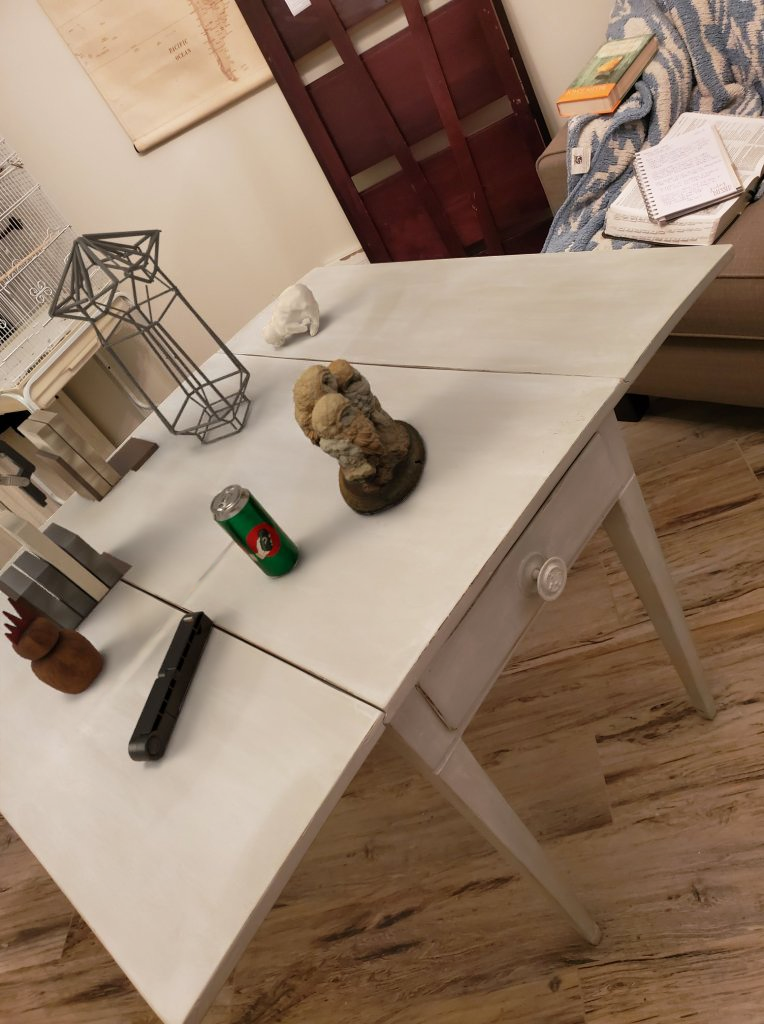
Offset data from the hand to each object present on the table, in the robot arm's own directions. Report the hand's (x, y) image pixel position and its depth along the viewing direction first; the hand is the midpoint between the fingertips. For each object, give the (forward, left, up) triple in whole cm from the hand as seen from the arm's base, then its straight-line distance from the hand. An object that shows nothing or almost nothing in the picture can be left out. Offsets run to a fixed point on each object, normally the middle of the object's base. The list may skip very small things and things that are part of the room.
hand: (20, 529), depth 95 cm
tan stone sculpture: (+46, +5, -15) cm, 49 cm away
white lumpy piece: (+26, +50, -15) cm, 59 cm away
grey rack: (-1, -1, -14) cm, 14 cm away
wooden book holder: (-8, +29, -14) cm, 33 cm away
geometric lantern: (+15, +31, -15) cm, 38 cm away
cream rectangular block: (0, 0, -13) cm, 13 cm away
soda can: (+33, -6, -15) cm, 37 cm away
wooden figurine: (+6, -16, -15) cm, 22 cm away
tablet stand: (+22, -21, -15) cm, 34 cm away
